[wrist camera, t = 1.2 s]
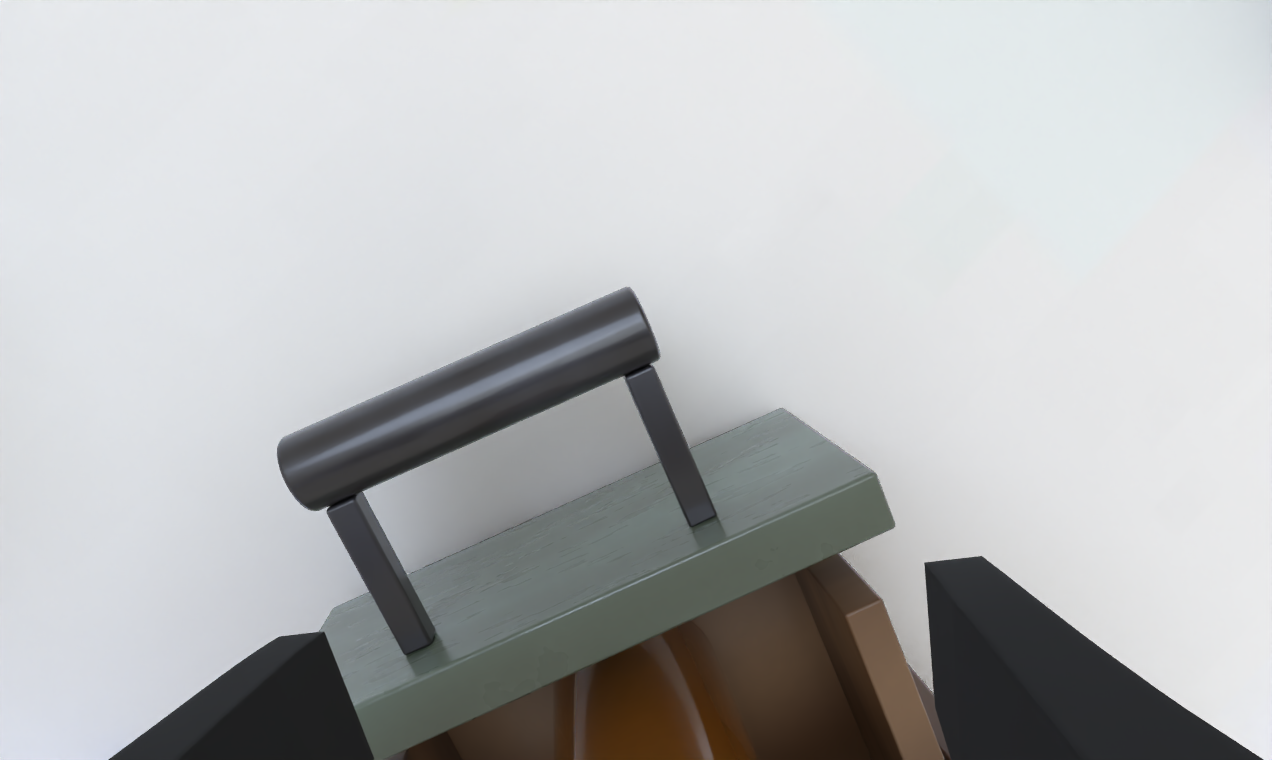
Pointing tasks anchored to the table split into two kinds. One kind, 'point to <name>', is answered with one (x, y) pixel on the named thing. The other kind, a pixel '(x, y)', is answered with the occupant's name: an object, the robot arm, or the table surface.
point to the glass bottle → (651, 705)
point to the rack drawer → (609, 564)
